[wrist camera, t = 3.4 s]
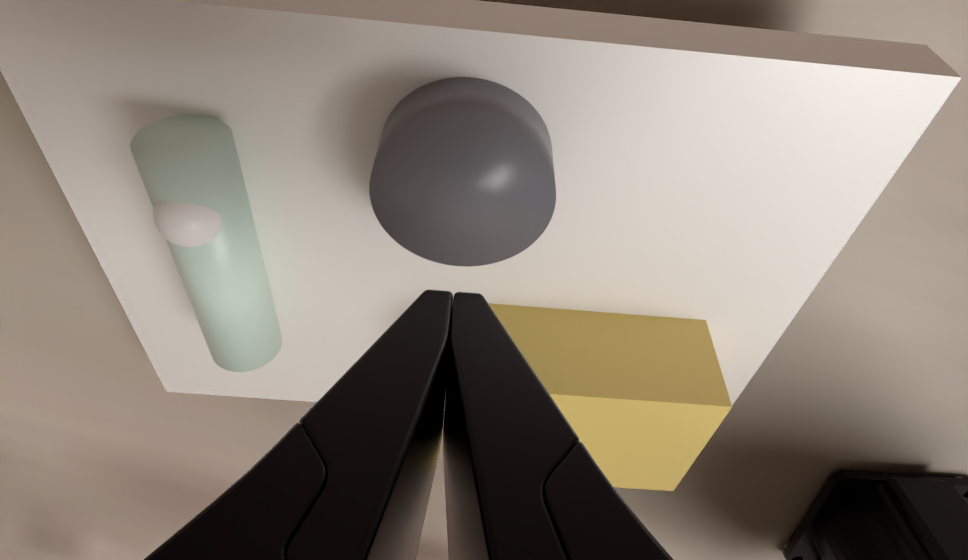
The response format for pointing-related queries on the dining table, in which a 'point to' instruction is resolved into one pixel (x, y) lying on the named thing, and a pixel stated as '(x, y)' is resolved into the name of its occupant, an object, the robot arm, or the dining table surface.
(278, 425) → the dining table surface
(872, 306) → the dining table surface
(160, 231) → the instrument board
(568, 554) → the robot arm
